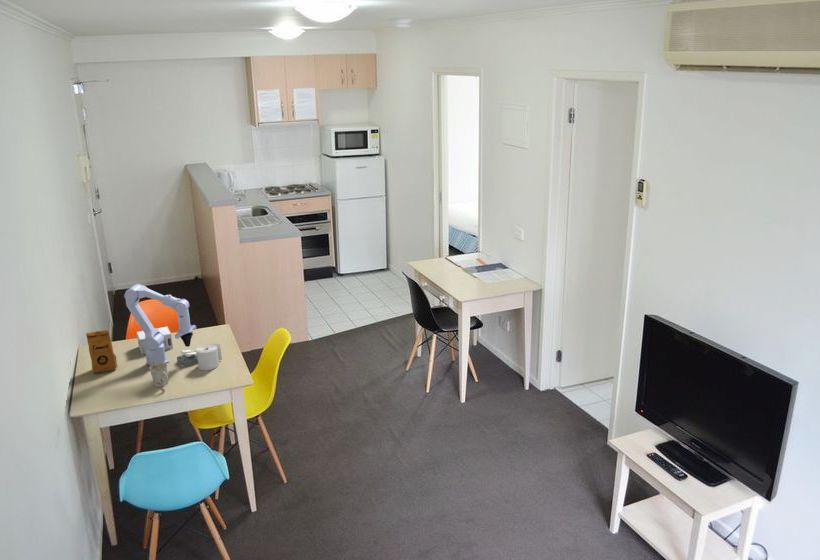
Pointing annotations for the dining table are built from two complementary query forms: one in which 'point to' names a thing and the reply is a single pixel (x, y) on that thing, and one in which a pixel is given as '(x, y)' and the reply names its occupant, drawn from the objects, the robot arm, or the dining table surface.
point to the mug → (159, 374)
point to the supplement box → (167, 342)
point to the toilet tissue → (208, 356)
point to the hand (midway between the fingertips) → (187, 346)
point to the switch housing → (187, 360)
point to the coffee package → (101, 351)
